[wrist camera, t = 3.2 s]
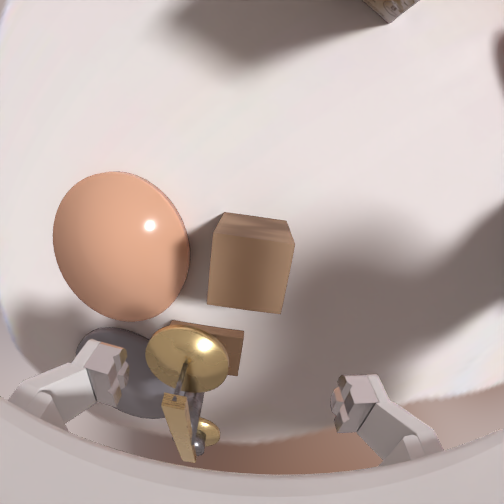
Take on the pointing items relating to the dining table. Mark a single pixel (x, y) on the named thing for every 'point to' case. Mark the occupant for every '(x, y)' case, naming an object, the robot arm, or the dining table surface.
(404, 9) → the coffee box
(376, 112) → the dining table surface
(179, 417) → the balance
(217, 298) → the walnut block
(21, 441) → the robot arm
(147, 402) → the charcoal dish
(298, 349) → the dining table surface
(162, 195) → the terracotta dish
